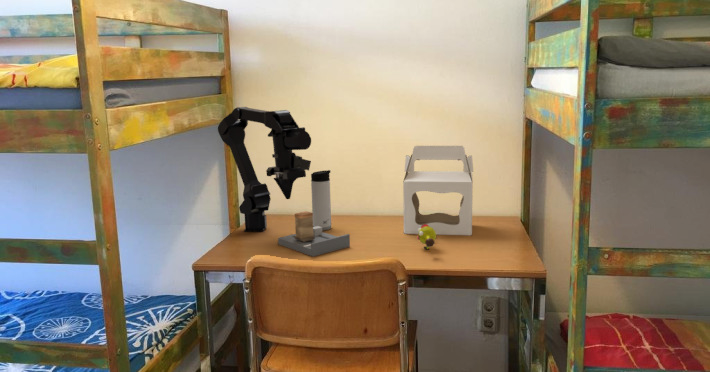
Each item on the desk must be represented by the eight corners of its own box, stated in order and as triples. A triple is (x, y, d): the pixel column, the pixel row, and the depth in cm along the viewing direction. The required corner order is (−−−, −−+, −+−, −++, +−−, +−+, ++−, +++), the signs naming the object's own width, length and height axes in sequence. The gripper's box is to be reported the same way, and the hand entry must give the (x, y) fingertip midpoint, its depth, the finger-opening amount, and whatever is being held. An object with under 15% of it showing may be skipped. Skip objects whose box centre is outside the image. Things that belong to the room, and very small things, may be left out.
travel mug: (329, 231, 199) (327, 172, 195) (310, 230, 200) (308, 171, 196) (334, 226, 205) (332, 169, 201) (315, 225, 206) (313, 168, 202)
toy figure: (415, 240, 185) (415, 219, 184) (432, 240, 185) (432, 219, 184) (419, 258, 168) (419, 235, 166) (439, 257, 167) (439, 234, 166)
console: (278, 244, 185) (277, 230, 184) (313, 235, 194) (313, 222, 193) (313, 256, 171) (312, 241, 171) (349, 246, 180) (349, 232, 180)
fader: (293, 238, 182) (292, 213, 180) (305, 235, 185) (304, 210, 183) (303, 241, 178) (302, 215, 176) (315, 238, 181) (314, 213, 179)
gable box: (472, 225, 202) (473, 143, 197) (472, 235, 189) (473, 148, 184) (407, 223, 206) (406, 143, 201) (402, 233, 193) (402, 148, 188)
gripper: (318, 148, 183) (323, 197, 185) (294, 147, 199) (299, 192, 201) (285, 152, 178) (290, 203, 180) (263, 150, 194) (268, 197, 196)
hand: (288, 199), depth 190 cm, fingers closed
